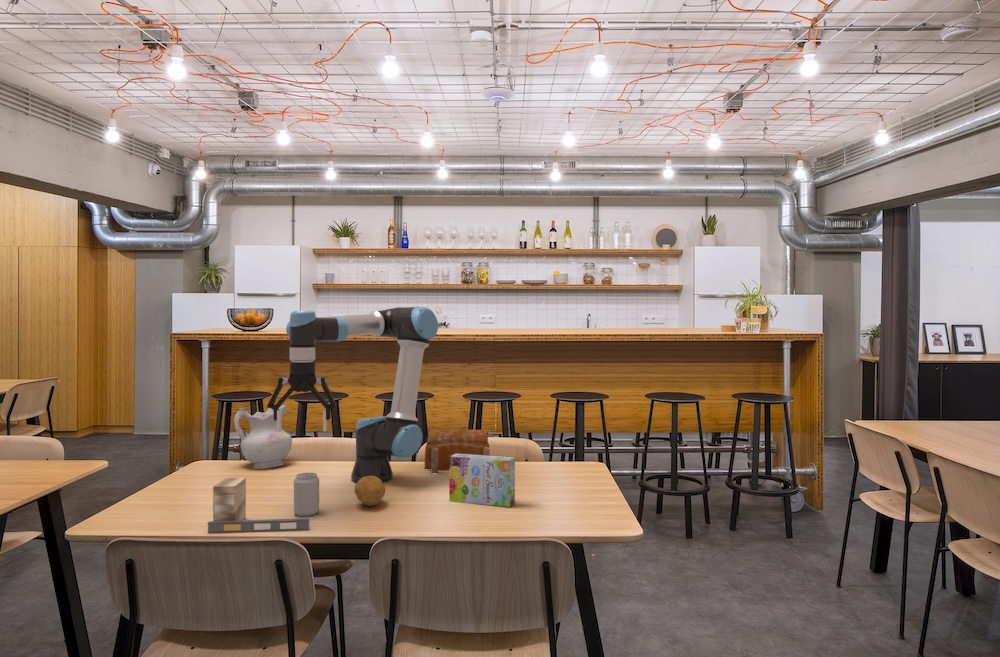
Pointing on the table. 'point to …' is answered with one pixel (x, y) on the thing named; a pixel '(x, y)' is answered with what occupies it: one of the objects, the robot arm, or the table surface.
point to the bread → (454, 445)
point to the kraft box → (229, 500)
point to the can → (306, 494)
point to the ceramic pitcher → (263, 439)
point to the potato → (370, 490)
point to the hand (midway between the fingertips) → (302, 431)
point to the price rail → (258, 525)
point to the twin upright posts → (435, 458)
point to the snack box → (482, 479)
